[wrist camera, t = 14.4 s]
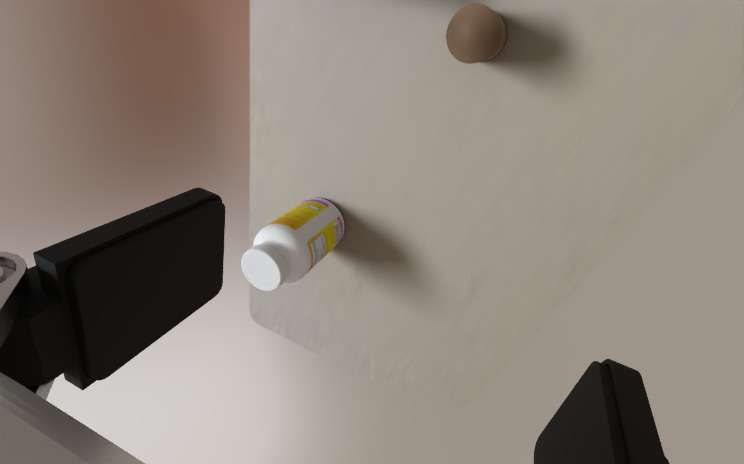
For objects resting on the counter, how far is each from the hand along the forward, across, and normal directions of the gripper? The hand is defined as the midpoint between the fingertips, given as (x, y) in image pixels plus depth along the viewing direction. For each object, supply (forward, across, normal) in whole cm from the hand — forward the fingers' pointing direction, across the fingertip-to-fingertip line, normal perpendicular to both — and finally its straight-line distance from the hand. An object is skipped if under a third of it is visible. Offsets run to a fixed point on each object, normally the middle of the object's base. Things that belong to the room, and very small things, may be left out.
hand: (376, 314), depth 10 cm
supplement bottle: (+32, +16, +18) cm, 40 cm away
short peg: (+32, +4, -6) cm, 33 cm away
